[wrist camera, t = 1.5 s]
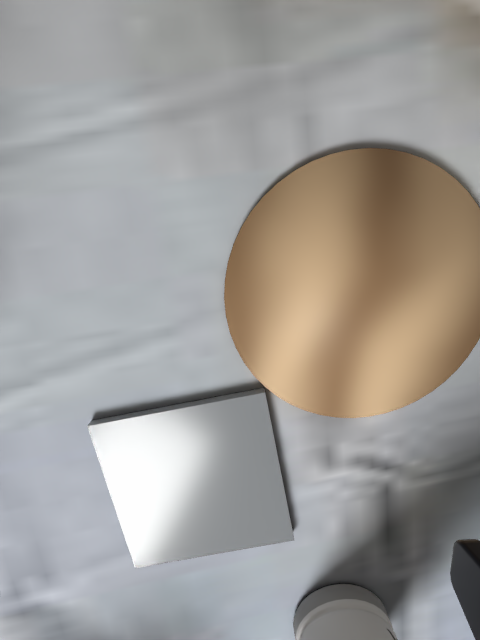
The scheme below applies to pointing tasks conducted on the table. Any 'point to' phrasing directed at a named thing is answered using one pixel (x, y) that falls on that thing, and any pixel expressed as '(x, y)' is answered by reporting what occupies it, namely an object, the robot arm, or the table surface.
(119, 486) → the stone coaster
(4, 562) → the table surface
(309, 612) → the travel mug
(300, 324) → the cork trivet
